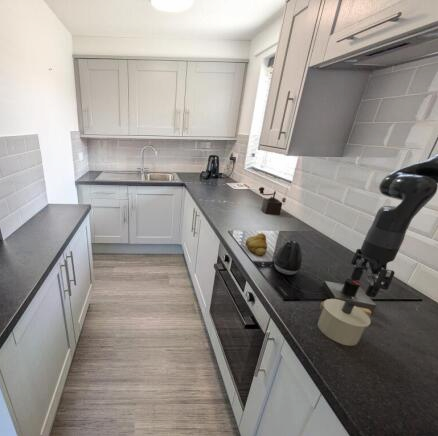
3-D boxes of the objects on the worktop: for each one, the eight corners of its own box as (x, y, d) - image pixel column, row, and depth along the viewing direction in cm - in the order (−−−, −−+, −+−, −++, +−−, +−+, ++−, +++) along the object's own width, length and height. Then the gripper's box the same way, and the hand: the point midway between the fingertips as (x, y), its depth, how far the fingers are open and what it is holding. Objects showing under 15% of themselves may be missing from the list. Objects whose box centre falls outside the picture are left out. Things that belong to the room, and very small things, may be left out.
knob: (339, 289, 86) (343, 278, 84) (346, 287, 87) (351, 277, 85) (350, 296, 82) (355, 285, 80) (358, 294, 83) (363, 283, 82)
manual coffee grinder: (274, 210, 179) (280, 187, 173) (279, 215, 169) (286, 191, 163) (253, 208, 181) (258, 186, 175) (257, 213, 171) (263, 190, 165)
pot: (348, 323, 75) (356, 305, 72) (365, 350, 65) (376, 330, 63) (312, 315, 77) (319, 297, 74) (324, 340, 68) (332, 321, 65)
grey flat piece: (357, 293, 89) (360, 286, 87) (373, 312, 80) (376, 304, 78) (322, 286, 92) (324, 280, 91) (332, 303, 83) (335, 296, 82)
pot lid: (357, 306, 72) (362, 295, 71) (378, 333, 62) (384, 322, 61) (317, 298, 75) (320, 288, 74) (331, 323, 65) (336, 312, 64)
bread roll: (268, 258, 111) (272, 243, 108) (247, 255, 113) (250, 240, 110) (262, 245, 123) (265, 232, 120) (243, 243, 125) (246, 230, 122)
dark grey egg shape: (267, 270, 101) (275, 239, 96) (277, 262, 108) (285, 233, 102) (292, 281, 94) (303, 249, 89) (301, 272, 101) (311, 241, 95)
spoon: (363, 313, 79) (366, 306, 78) (370, 322, 75) (374, 315, 74) (317, 303, 83) (320, 297, 81) (322, 312, 79) (325, 305, 77)
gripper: (354, 230, 75) (337, 272, 81) (382, 251, 62) (360, 299, 68) (382, 234, 73) (363, 277, 79) (417, 255, 60) (391, 305, 66)
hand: (362, 287), depth 73 cm, fingers open, 8 cm apart
